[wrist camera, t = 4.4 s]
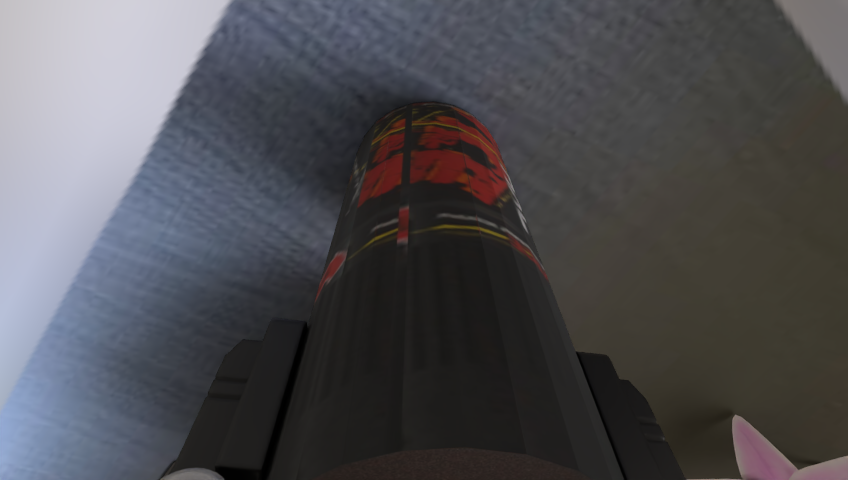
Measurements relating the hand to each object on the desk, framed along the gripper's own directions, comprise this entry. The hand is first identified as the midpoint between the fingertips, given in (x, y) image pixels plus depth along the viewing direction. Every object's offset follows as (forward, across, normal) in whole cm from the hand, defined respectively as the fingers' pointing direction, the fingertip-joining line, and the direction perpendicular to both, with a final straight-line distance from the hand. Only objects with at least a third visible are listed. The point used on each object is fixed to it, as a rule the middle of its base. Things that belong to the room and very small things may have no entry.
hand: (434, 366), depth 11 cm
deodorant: (+11, 0, 0) cm, 11 cm away
